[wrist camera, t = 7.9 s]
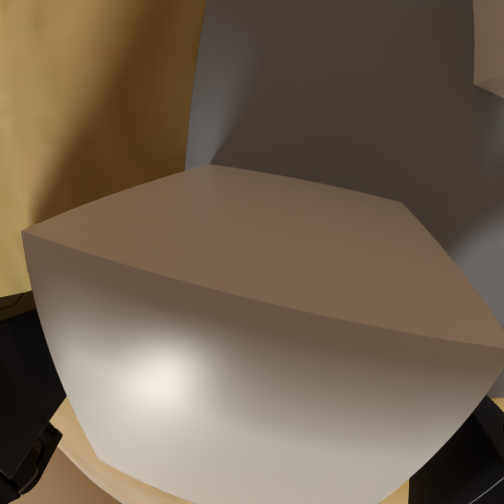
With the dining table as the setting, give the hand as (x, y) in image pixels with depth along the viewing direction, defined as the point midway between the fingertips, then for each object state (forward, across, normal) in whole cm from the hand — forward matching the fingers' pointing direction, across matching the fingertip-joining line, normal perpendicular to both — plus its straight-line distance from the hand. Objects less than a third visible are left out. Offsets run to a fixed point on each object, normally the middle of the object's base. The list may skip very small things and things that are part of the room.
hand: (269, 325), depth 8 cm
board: (+5, -5, -6) cm, 9 cm away
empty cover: (+4, 0, 0) cm, 4 cm away
